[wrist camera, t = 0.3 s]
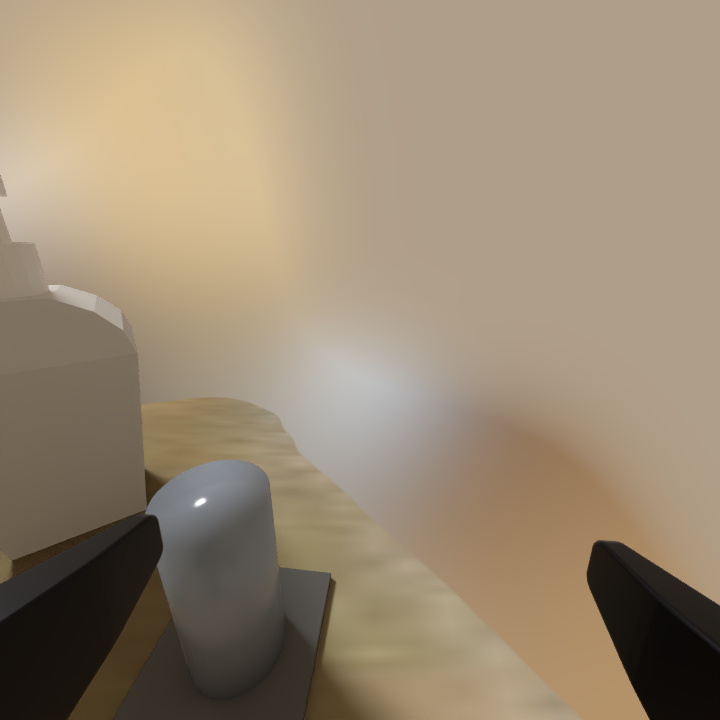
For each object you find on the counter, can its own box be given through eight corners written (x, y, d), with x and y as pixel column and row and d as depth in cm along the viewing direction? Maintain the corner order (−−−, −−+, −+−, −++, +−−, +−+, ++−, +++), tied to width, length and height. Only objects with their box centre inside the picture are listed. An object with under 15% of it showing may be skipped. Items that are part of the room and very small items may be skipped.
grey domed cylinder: (266, 707, 16) (241, 553, 12) (166, 692, 17) (113, 540, 13) (295, 598, 21) (284, 463, 17) (218, 589, 22) (190, 456, 18)
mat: (292, 776, 14) (292, 771, 14) (103, 744, 15) (100, 739, 15) (331, 577, 23) (330, 573, 23) (206, 563, 24) (205, 559, 24)
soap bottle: (161, 446, 36) (95, 180, 27) (175, 505, 29) (90, 161, 19) (3, 493, 30) (-157, 161, 20) (-34, 586, 22) (-320, 121, 13)
